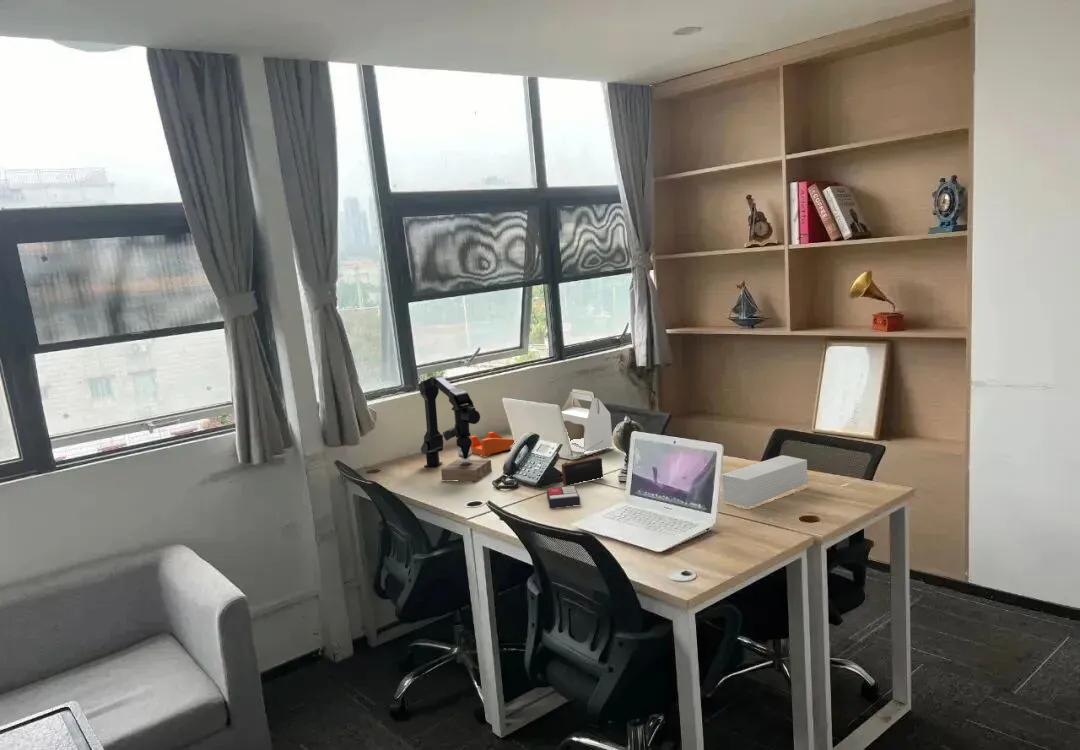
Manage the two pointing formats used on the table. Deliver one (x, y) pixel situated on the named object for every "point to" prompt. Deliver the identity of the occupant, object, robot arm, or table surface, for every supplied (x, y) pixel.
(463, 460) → the steel peg
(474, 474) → the walnut block
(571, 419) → the gable box
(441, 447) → the robot arm
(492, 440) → the tape dispenser
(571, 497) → the flat rectangular box
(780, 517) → the table surface
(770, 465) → the grey rectangular block
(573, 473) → the radio
